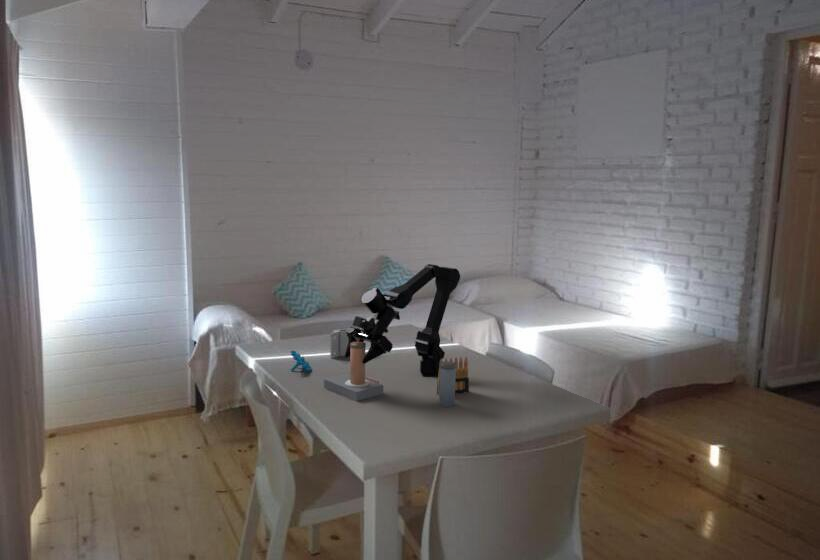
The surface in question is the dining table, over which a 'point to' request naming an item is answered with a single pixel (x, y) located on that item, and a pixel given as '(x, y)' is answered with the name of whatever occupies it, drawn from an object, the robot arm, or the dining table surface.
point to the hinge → (338, 343)
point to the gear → (300, 361)
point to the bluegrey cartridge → (447, 384)
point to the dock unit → (353, 387)
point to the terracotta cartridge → (357, 363)
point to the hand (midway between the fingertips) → (354, 360)
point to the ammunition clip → (458, 376)
